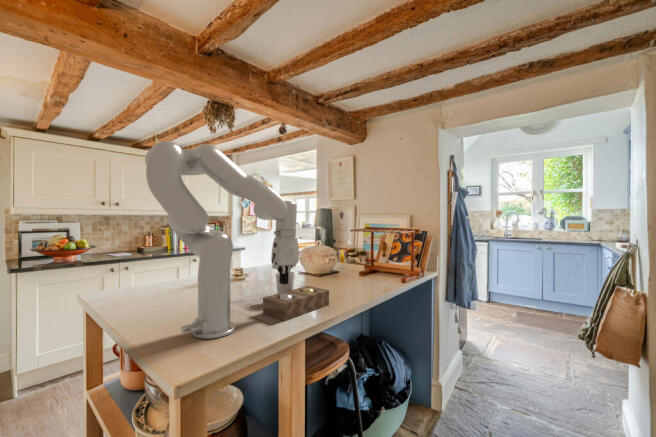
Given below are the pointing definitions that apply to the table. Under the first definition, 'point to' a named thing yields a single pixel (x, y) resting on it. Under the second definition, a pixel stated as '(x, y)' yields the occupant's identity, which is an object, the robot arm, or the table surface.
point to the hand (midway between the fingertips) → (283, 283)
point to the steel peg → (286, 296)
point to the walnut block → (295, 303)
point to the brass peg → (308, 290)
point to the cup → (285, 287)
